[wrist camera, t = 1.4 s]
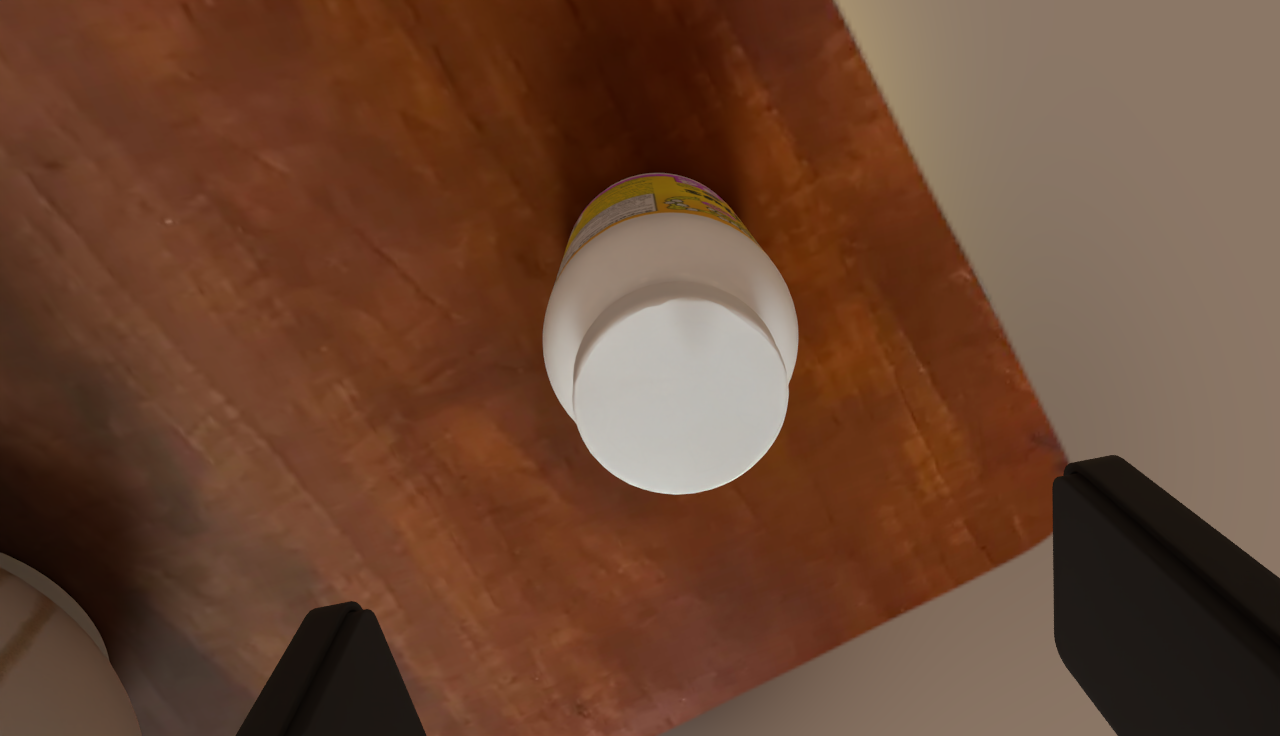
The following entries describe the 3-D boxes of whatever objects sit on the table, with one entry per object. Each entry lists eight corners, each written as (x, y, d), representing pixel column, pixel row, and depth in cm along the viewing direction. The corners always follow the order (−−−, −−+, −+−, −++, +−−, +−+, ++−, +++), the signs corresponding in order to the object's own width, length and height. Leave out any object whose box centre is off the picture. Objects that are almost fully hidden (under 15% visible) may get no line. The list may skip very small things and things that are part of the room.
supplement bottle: (775, 290, 28) (886, 453, 16) (624, 372, 30) (627, 580, 18) (691, 131, 26) (750, 187, 14) (532, 226, 27) (463, 351, 15)
